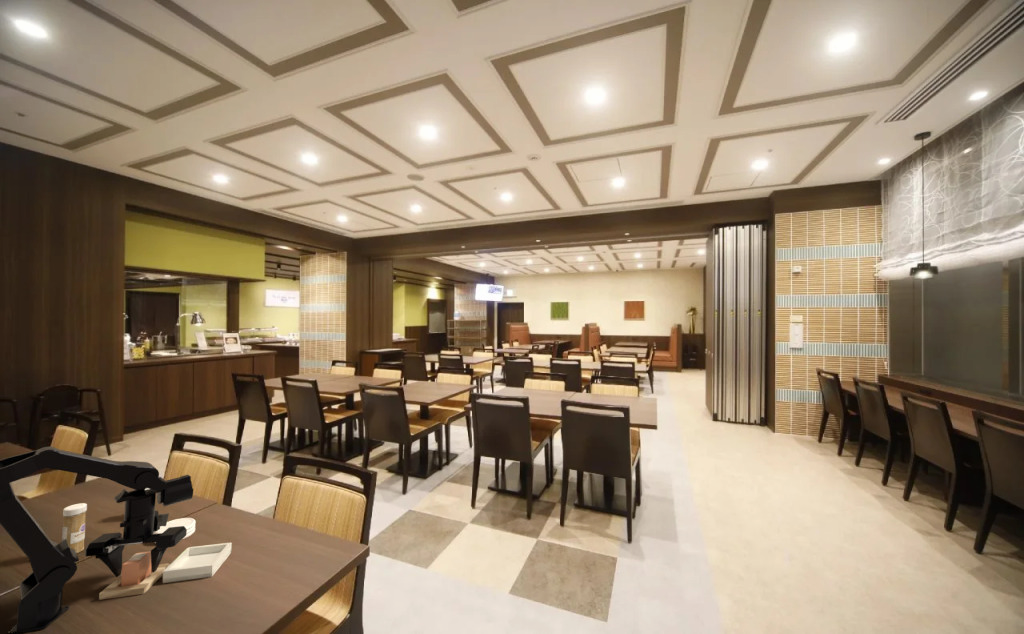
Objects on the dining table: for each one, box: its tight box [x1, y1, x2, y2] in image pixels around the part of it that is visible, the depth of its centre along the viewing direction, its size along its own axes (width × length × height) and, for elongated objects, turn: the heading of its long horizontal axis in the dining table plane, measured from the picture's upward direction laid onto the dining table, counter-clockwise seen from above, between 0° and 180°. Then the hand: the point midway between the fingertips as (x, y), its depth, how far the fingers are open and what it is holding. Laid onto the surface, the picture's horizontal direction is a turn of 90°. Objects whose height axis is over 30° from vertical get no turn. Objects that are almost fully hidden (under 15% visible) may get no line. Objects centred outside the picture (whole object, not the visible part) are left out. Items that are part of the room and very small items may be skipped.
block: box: [120, 550, 151, 587], centre depth 97 cm, size 5×4×7 cm
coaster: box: [153, 517, 197, 544], centre depth 119 cm, size 10×10×4 cm
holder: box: [98, 562, 170, 601], centre depth 97 cm, size 10×9×2 cm
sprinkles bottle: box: [61, 502, 88, 554], centre depth 109 cm, size 5×5×13 cm
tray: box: [162, 542, 233, 584], centre depth 104 cm, size 11×11×3 cm
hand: (136, 573), depth 97 cm, fingers open, 7 cm apart
